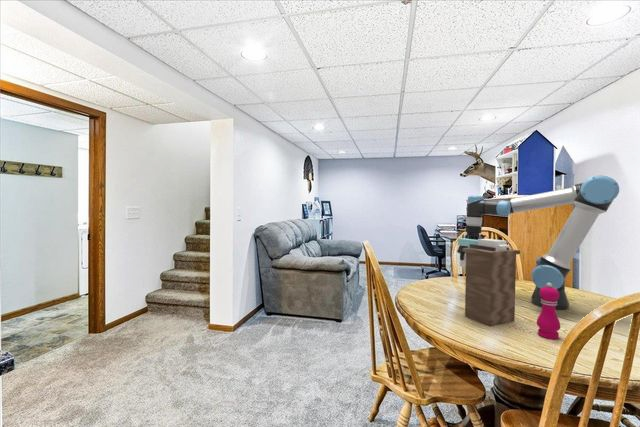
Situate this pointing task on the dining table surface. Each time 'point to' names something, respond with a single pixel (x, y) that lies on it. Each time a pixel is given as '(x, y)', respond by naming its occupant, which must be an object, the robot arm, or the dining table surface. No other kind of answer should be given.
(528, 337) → the dining table surface
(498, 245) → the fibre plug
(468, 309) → the wood-grain storage bin
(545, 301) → the pepper mill
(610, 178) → the robot arm
